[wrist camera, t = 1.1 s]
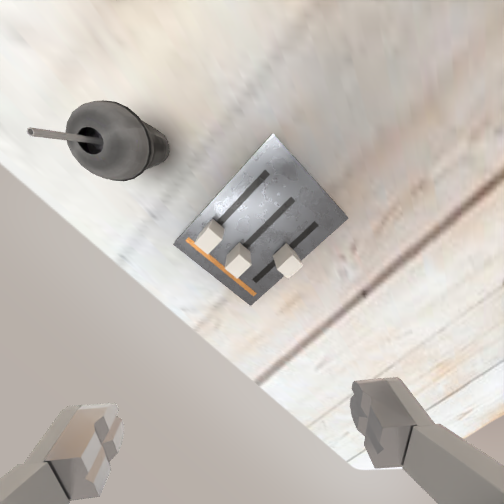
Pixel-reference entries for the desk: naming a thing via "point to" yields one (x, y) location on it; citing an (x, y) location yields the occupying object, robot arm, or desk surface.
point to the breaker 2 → (238, 260)
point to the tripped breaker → (287, 261)
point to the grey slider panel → (264, 219)
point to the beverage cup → (110, 140)
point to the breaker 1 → (210, 236)
